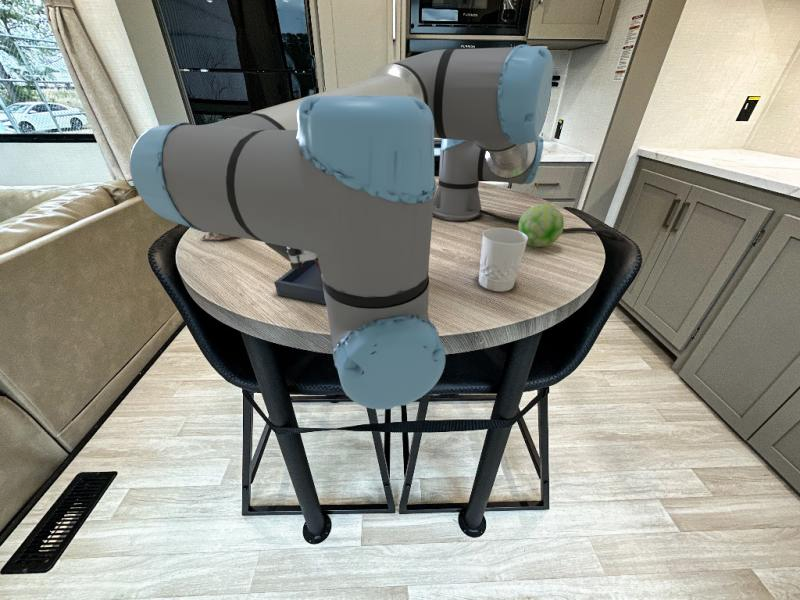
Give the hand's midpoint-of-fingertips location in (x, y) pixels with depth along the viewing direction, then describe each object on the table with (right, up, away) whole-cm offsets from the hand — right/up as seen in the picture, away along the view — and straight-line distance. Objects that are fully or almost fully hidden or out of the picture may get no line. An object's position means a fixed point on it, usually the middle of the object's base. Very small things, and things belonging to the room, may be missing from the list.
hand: (334, 209), depth 50 cm
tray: (-2, -10, +14) cm, 18 cm away
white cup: (+29, -11, +13) cm, 34 cm away
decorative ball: (+44, -1, +29) cm, 52 cm away
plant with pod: (-34, +2, +33) cm, 48 cm away
